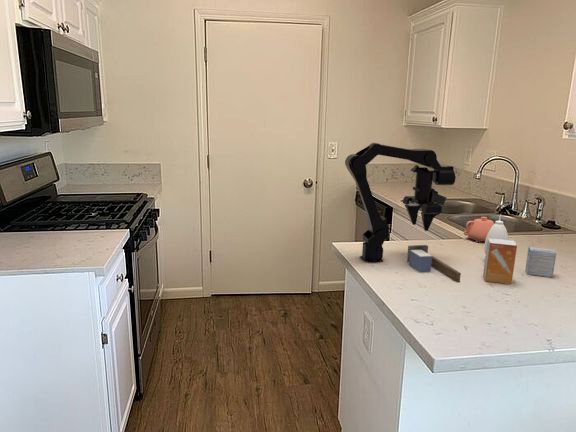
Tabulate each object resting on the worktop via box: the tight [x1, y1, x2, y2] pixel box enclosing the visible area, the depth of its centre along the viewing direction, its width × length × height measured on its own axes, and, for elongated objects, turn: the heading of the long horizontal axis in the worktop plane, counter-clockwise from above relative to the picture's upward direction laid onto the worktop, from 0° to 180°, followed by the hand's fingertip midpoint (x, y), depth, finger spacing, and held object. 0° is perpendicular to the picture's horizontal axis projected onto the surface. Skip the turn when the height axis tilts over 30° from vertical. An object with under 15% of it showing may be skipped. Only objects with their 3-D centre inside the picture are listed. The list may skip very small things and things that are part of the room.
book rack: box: [406, 244, 462, 283], centre depth 158 cm, size 8×22×6 cm, turn 12°
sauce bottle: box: [484, 213, 510, 255], centre depth 168 cm, size 8×8×18 cm
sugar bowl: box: [463, 216, 495, 243], centre depth 199 cm, size 12×14×10 cm
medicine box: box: [525, 246, 557, 278], centre depth 157 cm, size 8×4×9 cm, turn 71°
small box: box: [482, 238, 518, 285], centre depth 150 cm, size 8×6×13 cm
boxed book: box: [408, 250, 433, 273], centre depth 161 cm, size 4×8×6 cm, turn 12°
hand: (419, 227), depth 168 cm, fingers open, 9 cm apart
